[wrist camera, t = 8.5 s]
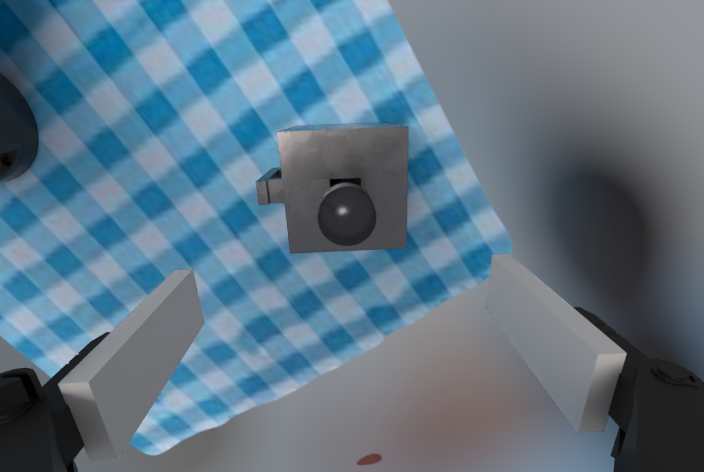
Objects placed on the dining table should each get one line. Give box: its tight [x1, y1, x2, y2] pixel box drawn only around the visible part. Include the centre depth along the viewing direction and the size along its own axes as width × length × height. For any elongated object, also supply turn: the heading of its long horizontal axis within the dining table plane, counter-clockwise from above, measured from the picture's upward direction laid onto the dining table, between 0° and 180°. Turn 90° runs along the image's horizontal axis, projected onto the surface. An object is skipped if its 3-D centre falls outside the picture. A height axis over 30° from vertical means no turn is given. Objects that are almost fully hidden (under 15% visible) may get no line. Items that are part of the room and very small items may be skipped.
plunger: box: [318, 178, 377, 246], centre depth 35 cm, size 9×9×19 cm
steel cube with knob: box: [256, 122, 408, 253], centre depth 40 cm, size 15×12×14 cm
